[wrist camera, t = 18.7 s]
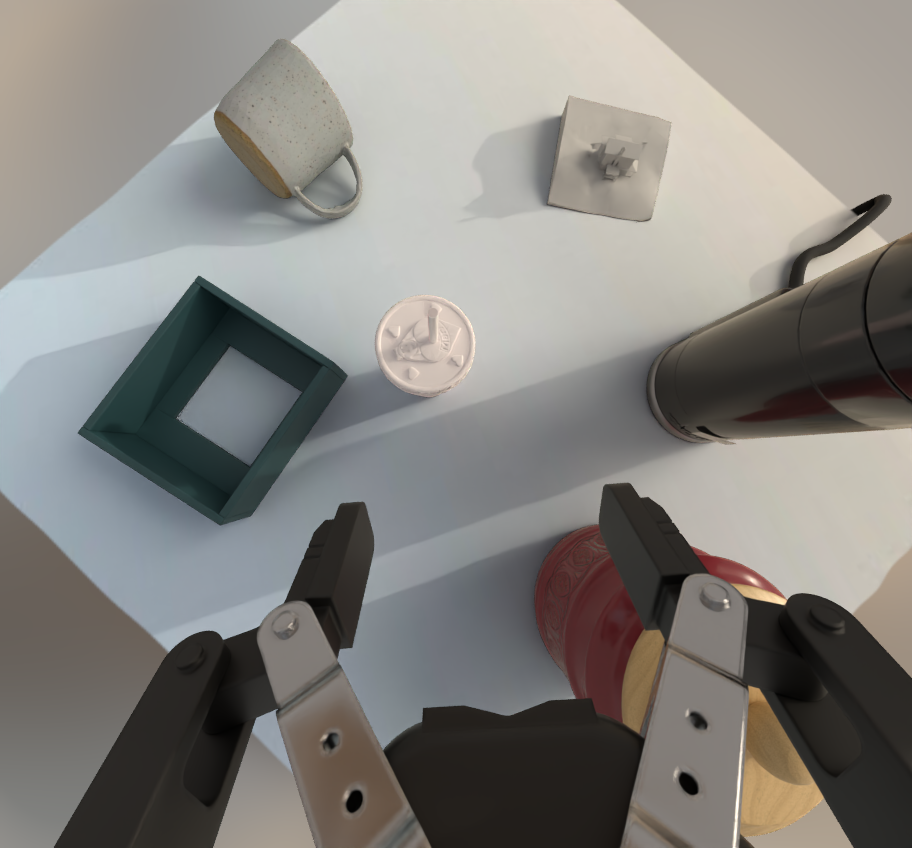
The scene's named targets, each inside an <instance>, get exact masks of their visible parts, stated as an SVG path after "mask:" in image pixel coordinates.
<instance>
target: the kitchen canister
mask: <svg viewBox="0 0 912 848" xmlns="http://www.w3.org/2000/svg"><path fill="white" fill-rule="evenodd" d="M691 548H692V549H693V551H694V552H695V553H696V555H697V556H698V558H699V559H700V560H701V562H702V563H703V565H704V566H705V567H706V569H707V570H708V571H709V573H710V574H711V575H713V576H716V577H719V578H721V579H723V580H725V581H727V582H728V583H730V584H731V585H733V586H734V587H735V588H736V589H737V590H738V591H739V592H740V593H741V594H742V595H743V596H745V597H748V598H752V599H757V600H762V601H767V602H772V603H777V604H782V605H785V604H786V602H787V599H786V598H785V597H784V596H783V594H782V593H781V592H780V591H779V590H778V589H777V588H776V587H775V586H774V585H772V584H771V583H770V582H769V581H768V580H766V579H765V578H764V577H762V576H761V575H760V574H758V573H757V572H755V571H753V570H752V569H750V568H748V567H746V566H744V565H742V564H740V563H737V562H735V561H732V560H729V559H726V558H722V557H717V556H711V555H709V554H707V553H706V552H704V551H702V550H699V549H697V548H695V547H692V546H691ZM534 605H535V613H536V620H537V625H538V629H539V632H540V635H541V638H542V640H543V642H544V644H545V646H546V648H547V650H548V652H549V654H550V655H551V657H552V658H553V660H554V661H555V663H556V664H557V665H558V667H559V668H560V669H561V670H562V671H563V672H564V674H565V676H566V677H567V679H568V681H569V682H570V685H571V688H572V690H573V693H574V695H575V697H576V699H585V698H592V701H593V704H594V708H595V711H596V712H597V713H601V714H604V715H606V716H609V717H612V718H614V719H616V720H618V721H620V722H622V723H624V724H625V725H627V726H628V727H630V728H631V729H633V730H634V731H636V732H637V733H638V734H639V732H640V728H641V725H642V721H643V718H644V714H645V711H646V708H647V704H648V700H649V696H650V692H651V689H652V685H653V681H654V677H655V673H656V669H657V666H658V662H659V658H660V654H661V650H662V646H663V643H664V638H663V636H662V634H661V632H660V630H650V631H645V628H644V626H643V624H642V622H641V620H640V618H639V616H638V613H637V611H636V609H635V607H634V605H633V603H632V601H631V598H630V596H629V594H628V592H627V590H626V588H625V586H624V584H623V581H622V579H621V577H620V575H619V573H618V571H617V569H616V566H615V564H614V562H613V560H612V558H611V556H610V554H609V552H608V549H607V547H606V545H605V543H604V541H603V539H602V536H601V533H600V529H599V524H598V525H591V526H587V527H584V528H581V529H578V530H576V531H574V532H572V533H570V534H569V535H567V536H566V537H564V538H563V539H562V540H560V541H559V542H558V543H557V544H556V545H555V546H554V547H553V548H552V550H551V551H550V552H549V554H548V555H547V557H546V558H545V560H544V562H543V564H542V566H541V568H540V571H539V573H538V576H537V580H536V585H535V593H534ZM748 687H749V704H748V719H747V734H746V749H745V764H744V779H743V794H742V809H741V824H740V834H741V835H742V836H743V837H748V836H758V835H763V834H767V833H771V832H774V831H777V830H779V829H782V828H784V827H786V826H788V825H790V824H792V823H794V822H796V821H797V820H798V819H800V818H801V817H803V816H804V815H806V814H807V813H808V812H809V811H811V810H812V809H813V808H814V807H815V806H817V805H818V804H819V803H820V802H821V801H822V800H823V798H824V797H823V795H822V793H821V792H820V790H819V788H818V787H817V785H816V783H815V782H814V780H813V778H812V777H811V775H810V773H809V771H808V770H807V768H806V766H805V765H804V763H803V761H802V760H801V758H800V756H799V755H798V753H797V751H796V750H795V748H794V746H793V744H792V743H791V741H790V739H789V738H788V736H787V734H786V733H785V731H784V729H783V728H782V726H781V724H780V723H779V721H778V719H777V717H776V716H775V714H774V712H773V711H772V709H771V707H770V706H769V704H768V702H767V701H766V699H765V697H764V696H763V694H762V692H761V690H760V689H759V688H755V687H751V686H748Z"/></svg>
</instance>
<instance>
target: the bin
mask: <svg viewBox="0 0 912 848" xmlns="http://www.w3.org/2000/svg"><path fill="white" fill-rule="evenodd" d="M230 345H231V346H232V347H234V348H235V349H237V350H238V351H240V352H241V353H243V354H245V355H246V356H248V357H249V358H251V359H252V360H254V361H255V362H257V363H258V364H260V365H262V366H263V367H265V368H266V369H268V370H269V371H271V372H272V373H274V374H276V375H277V376H279V377H280V378H282V379H283V380H285V381H286V382H288V383H290V384H291V385H293V386H294V387H296V388H297V389H299V390H300V391H302V394H301V395H300V397H299V398H298V399H297V401H296V402H295V404H294V405H293V407H292V408H291V409H290V411H289V412H288V414H287V415H286V417H285V418H284V419H283V421H282V422H281V424H280V425H279V426H278V428H277V429H276V431H275V432H274V434H273V435H272V436H271V438H270V439H269V441H268V442H267V444H266V445H265V446H264V448H263V449H262V451H261V452H260V454H259V455H258V456H257V458H256V459H255V461H254V462H253V463H252V465H251V466H248V465H247V464H245V463H243V462H242V461H240V460H239V459H237V458H236V457H234V456H233V455H231V454H230V453H228V452H226V451H225V450H223V449H222V448H220V447H219V446H217V445H216V444H214V443H212V442H211V441H209V440H208V439H206V438H205V437H203V436H202V435H200V434H199V433H197V432H195V431H194V430H192V429H191V428H189V427H188V426H186V425H185V424H183V423H182V422H180V421H178V420H177V419H175V418H176V417H177V416H178V415H179V413H180V412H181V411H182V409H183V408H184V407H185V405H186V404H187V403H188V401H189V400H190V398H191V397H192V396H193V394H194V393H195V392H196V390H197V389H198V388H199V386H200V385H201V384H202V382H203V381H204V380H205V378H206V377H207V375H208V374H209V373H210V371H211V370H212V369H213V367H214V366H215V365H216V363H217V362H218V361H219V359H220V358H221V357H222V355H223V354H224V352H225V351H226V350H227V348H228V347H229V346H230ZM347 376H348V375H347V374H346V373H345V372H344V371H343V370H342V369H341V368H340V367H339V366H337V365H336V364H335V363H334V362H333V361H331V360H330V359H328V358H327V357H325V356H324V355H322V354H320V353H319V352H317V351H316V350H314V349H313V348H311V347H310V346H308V345H306V344H305V343H303V342H302V341H300V340H299V339H297V338H296V337H294V336H292V335H291V334H289V333H288V332H286V331H285V330H283V329H282V328H280V327H278V326H277V325H275V324H274V323H272V322H271V321H269V320H268V319H266V318H264V317H263V316H261V315H260V314H258V313H257V312H255V311H254V310H252V309H250V308H249V307H247V306H246V305H244V304H243V303H241V302H240V301H238V300H236V299H235V298H233V297H232V296H230V295H229V294H227V293H226V292H224V291H222V290H221V289H219V288H218V287H216V286H215V285H213V284H212V283H210V282H208V281H207V280H205V279H204V278H202V277H201V276H198V277H197V278H196V279H195V281H194V282H193V283H192V285H191V286H190V287H189V289H188V290H187V291H186V292H185V294H184V295H183V296H182V298H181V299H180V300H179V302H178V303H177V304H176V305H175V307H174V308H173V309H172V311H171V312H170V313H169V315H168V316H167V317H166V318H165V320H164V321H163V322H162V324H161V325H160V326H159V328H158V329H157V330H156V331H155V333H154V334H153V335H152V337H151V338H150V339H149V341H148V342H147V343H146V344H145V346H144V347H143V348H142V350H141V351H140V352H139V354H138V355H137V356H136V357H135V359H134V360H133V361H132V363H131V364H130V365H129V367H128V368H127V369H126V370H125V372H124V373H123V374H122V376H121V377H120V378H119V380H118V381H117V382H116V383H115V385H114V386H113V387H112V389H111V390H110V391H109V393H108V394H107V395H106V397H105V398H104V399H103V400H102V402H101V403H100V404H99V406H98V407H97V408H96V410H95V411H94V412H93V413H92V415H91V416H90V417H89V419H88V420H87V421H86V423H85V424H84V425H83V427H82V428H81V429H80V430H79V432H78V434H80V435H81V436H83V437H84V438H86V439H87V440H89V441H90V442H92V443H93V444H95V445H97V446H98V447H100V448H101V449H103V450H104V451H106V452H107V453H109V454H110V455H112V456H114V457H115V458H117V459H118V460H120V461H121V462H123V463H124V464H126V465H127V466H129V467H131V468H132V469H134V470H135V471H137V472H138V473H140V474H141V475H143V476H144V477H146V478H148V479H149V480H151V481H152V482H154V483H155V484H157V485H158V486H160V487H161V488H163V489H165V490H166V491H168V492H169V493H171V494H172V495H174V496H175V497H177V498H178V499H180V500H181V501H183V502H185V503H186V504H188V505H189V506H191V507H192V508H194V509H195V510H197V511H198V512H200V513H202V514H203V515H205V516H206V517H208V518H209V519H211V520H212V521H214V522H215V523H217V524H219V525H223V524H227V523H230V522H233V521H236V520H240V519H243V518H246V517H249V516H251V515H252V514H253V512H254V511H255V509H256V508H257V507H258V505H259V504H260V502H261V501H262V499H263V498H264V496H265V495H266V494H267V492H268V491H269V489H270V488H271V486H272V485H273V483H274V482H275V481H276V479H277V478H278V476H279V475H280V473H281V472H282V470H283V469H284V468H285V466H286V465H287V463H288V462H289V460H290V459H291V457H292V456H293V455H294V453H295V452H296V450H297V449H298V447H299V446H300V444H301V443H302V441H303V440H304V439H305V437H306V436H307V434H308V433H309V431H310V430H311V428H312V427H313V426H314V424H315V423H316V421H317V420H318V418H319V417H320V415H321V414H322V413H323V411H324V410H325V408H326V407H327V405H328V404H329V402H330V401H331V400H332V398H333V397H334V395H335V394H336V392H337V391H338V389H339V388H340V387H341V385H342V384H343V382H344V381H345V379H346V378H347Z"/></svg>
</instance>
